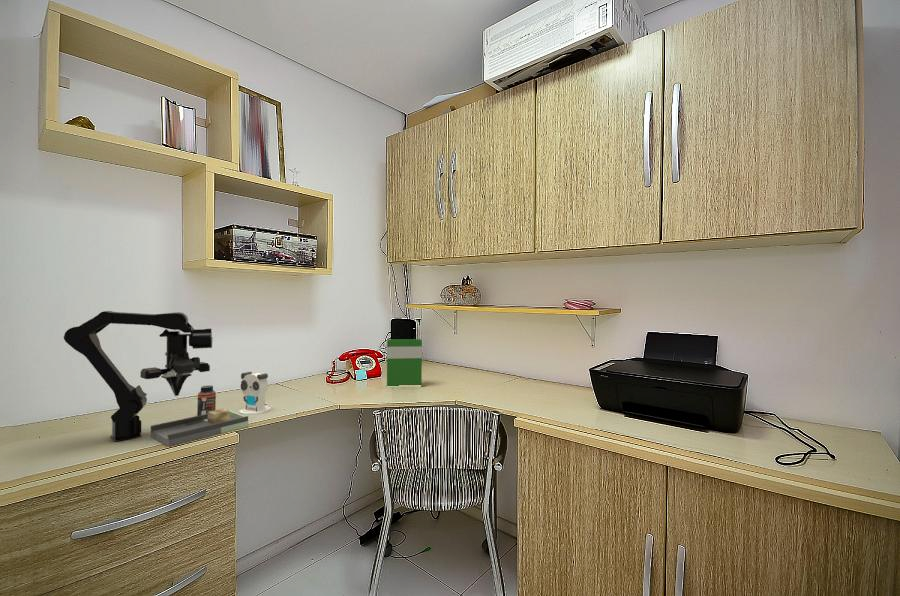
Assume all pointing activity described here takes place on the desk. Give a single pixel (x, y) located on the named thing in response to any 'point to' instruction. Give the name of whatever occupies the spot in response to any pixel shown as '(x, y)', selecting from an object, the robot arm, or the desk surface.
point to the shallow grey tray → (195, 428)
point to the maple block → (218, 416)
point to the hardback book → (404, 362)
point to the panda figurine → (254, 392)
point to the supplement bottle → (206, 400)
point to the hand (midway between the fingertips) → (176, 395)
